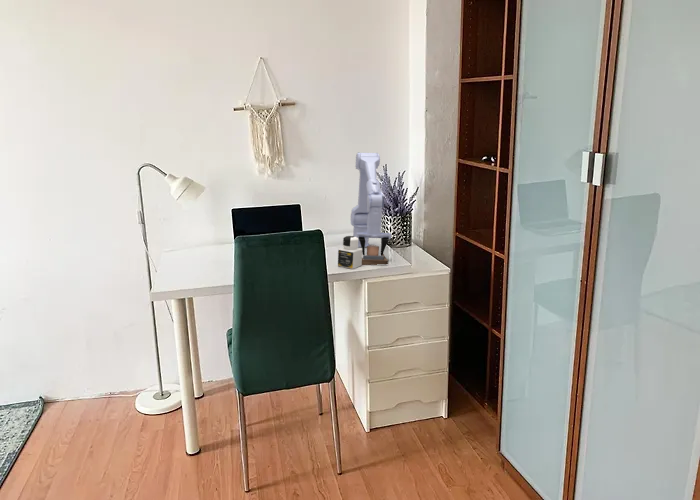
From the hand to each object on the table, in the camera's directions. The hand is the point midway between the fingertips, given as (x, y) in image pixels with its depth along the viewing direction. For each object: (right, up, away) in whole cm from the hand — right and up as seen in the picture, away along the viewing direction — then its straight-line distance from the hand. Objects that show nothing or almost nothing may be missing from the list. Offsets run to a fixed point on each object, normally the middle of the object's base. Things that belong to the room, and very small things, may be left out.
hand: (372, 254), depth 246 cm
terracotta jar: (0, -2, +1) cm, 3 cm away
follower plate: (0, -3, -2) cm, 4 cm away
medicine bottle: (-10, -5, -10) cm, 14 cm away
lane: (0, -2, 0) cm, 2 cm away
